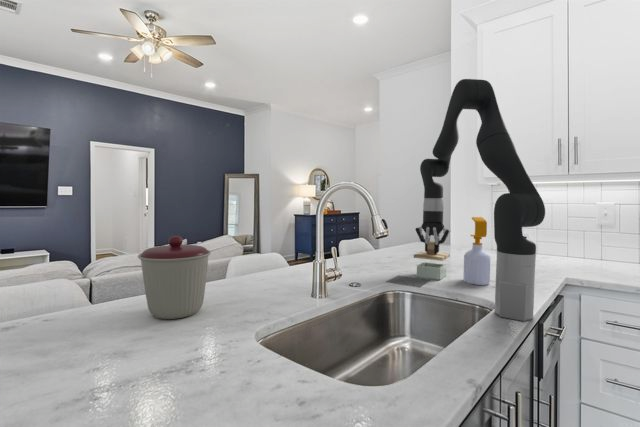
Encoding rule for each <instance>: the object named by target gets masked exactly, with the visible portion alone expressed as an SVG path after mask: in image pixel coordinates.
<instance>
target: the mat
mask: <svg viewBox="0 0 640 427" xmlns="http://www.w3.org/2000/svg"><path fill="white" fill-rule="evenodd" d="M430 281H431V279H426V278H419V277H411V276H405V275H396V276H394V277H392V278H390V279H389V280H387V281H385V282H386V283H387V284H388V283H389V284H396V285H401V286H408V287H415V288H422V287H424V286H425V285H426V284H427V283H429V282H430Z"/></svg>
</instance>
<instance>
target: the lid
mask: <svg viewBox="0 0 640 427" xmlns="http://www.w3.org/2000/svg"><path fill="white" fill-rule="evenodd" d="M434 249H435V241H431V240H430V242H428V246H427V253H426V252H425V250H422V251H419V252H416V253H415V254H413V259H423V260H431V261H437V262H438V261H439V262H440V261H441V262H443V261H445V260H446V259H448V258H450V256H451V254H450V253H446V252H438V253H437V254H434Z"/></svg>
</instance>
